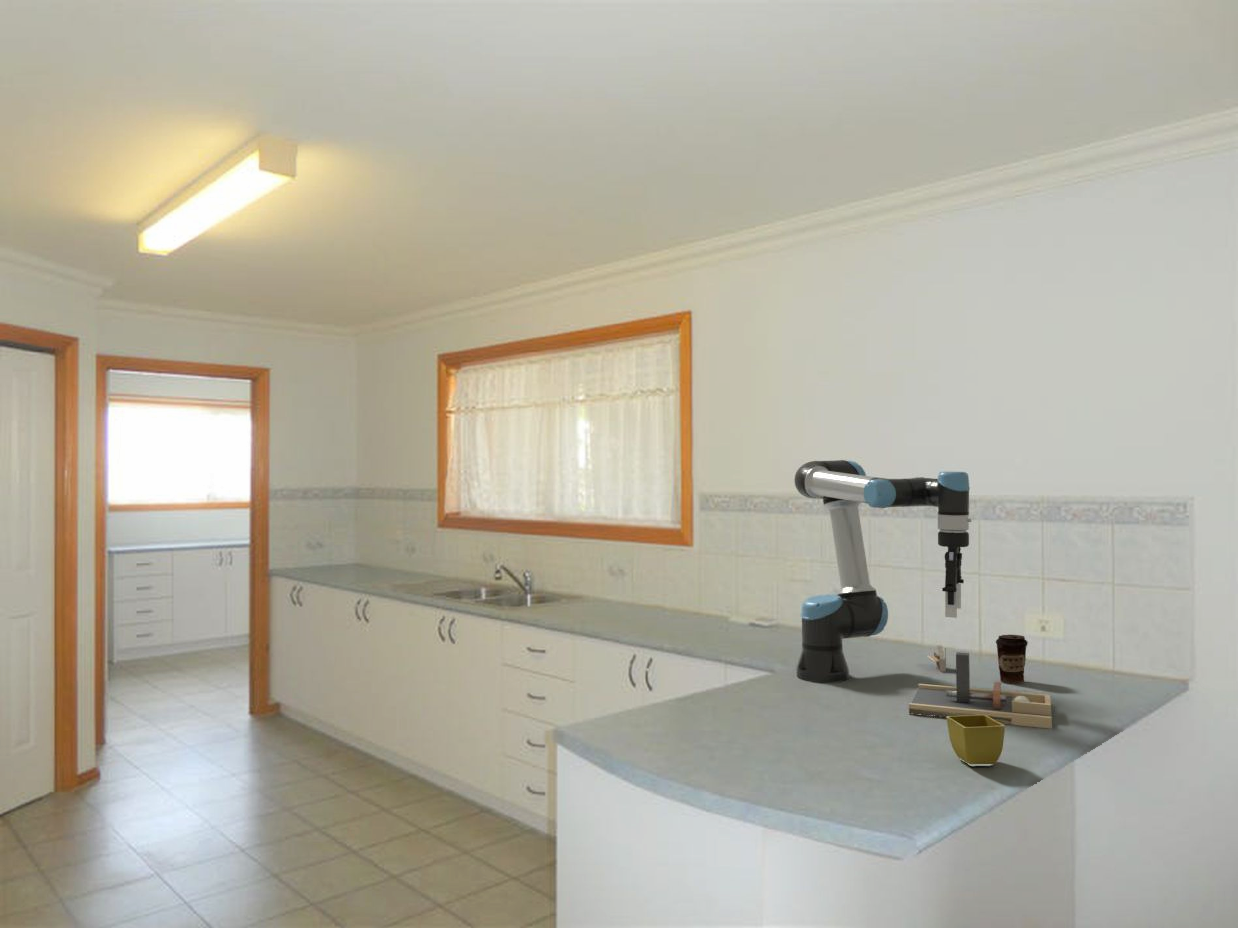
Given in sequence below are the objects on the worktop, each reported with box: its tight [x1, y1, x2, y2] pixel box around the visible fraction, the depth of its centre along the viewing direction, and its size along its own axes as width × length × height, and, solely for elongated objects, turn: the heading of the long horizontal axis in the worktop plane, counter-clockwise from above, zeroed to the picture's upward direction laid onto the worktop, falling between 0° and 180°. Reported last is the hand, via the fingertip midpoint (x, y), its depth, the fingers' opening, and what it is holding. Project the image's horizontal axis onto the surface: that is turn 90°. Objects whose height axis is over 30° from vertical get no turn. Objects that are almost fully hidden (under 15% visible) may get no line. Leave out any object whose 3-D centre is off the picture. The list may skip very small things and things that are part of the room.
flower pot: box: [945, 715, 1006, 765], centre depth 183 cm, size 9×9×9 cm
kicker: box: [946, 651, 1006, 709], centre depth 223 cm, size 14×9×12 cm, turn 65°
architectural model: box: [927, 643, 947, 673], centre depth 267 cm, size 3×7×7 cm, turn 177°
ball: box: [1013, 696, 1030, 702], centre depth 219 cm, size 4×4×4 cm
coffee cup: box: [995, 634, 1029, 684], centre depth 250 cm, size 9×8×13 cm
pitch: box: [908, 683, 1053, 730], centre depth 223 cm, size 32×22×4 cm
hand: (953, 612), depth 228 cm, fingers open, 13 cm apart
